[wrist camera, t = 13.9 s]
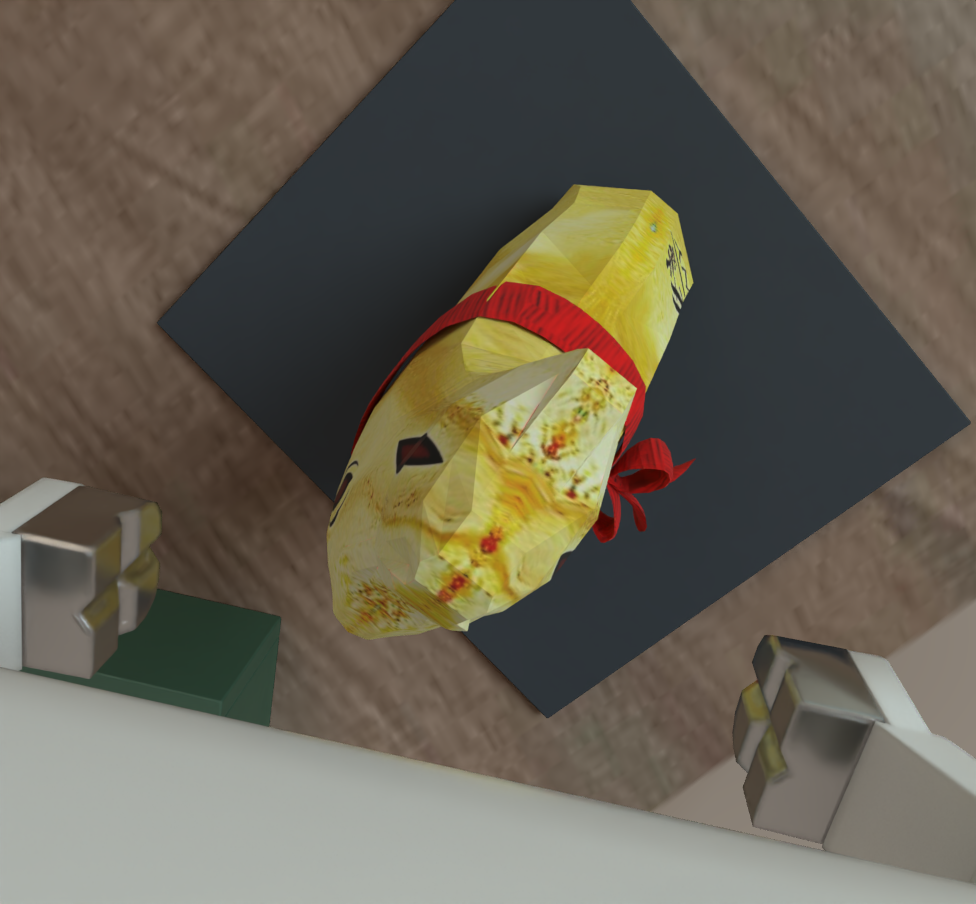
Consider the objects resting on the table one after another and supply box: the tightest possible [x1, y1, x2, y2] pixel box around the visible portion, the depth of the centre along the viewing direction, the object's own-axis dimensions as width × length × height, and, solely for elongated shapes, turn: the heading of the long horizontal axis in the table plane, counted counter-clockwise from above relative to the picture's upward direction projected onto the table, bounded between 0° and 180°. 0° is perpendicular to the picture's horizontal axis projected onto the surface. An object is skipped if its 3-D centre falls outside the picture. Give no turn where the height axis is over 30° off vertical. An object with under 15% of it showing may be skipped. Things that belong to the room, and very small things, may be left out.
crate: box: [19, 589, 281, 727], centre depth 30 cm, size 15×15×5 cm
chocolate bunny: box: [327, 184, 695, 640], centre depth 18 cm, size 7×11×15 cm, turn 141°
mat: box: [157, 0, 971, 718], centre depth 25 cm, size 18×16×1 cm
